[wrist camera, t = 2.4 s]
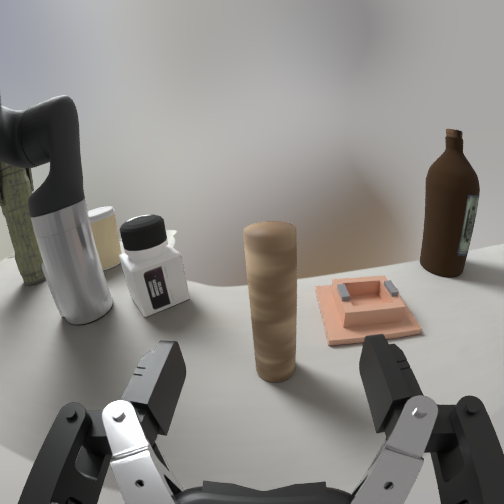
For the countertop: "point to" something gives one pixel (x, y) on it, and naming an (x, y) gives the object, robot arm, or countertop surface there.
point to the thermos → (20, 221)
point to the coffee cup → (105, 236)
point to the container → (151, 265)
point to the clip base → (363, 310)
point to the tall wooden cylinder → (272, 296)
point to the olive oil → (449, 209)
